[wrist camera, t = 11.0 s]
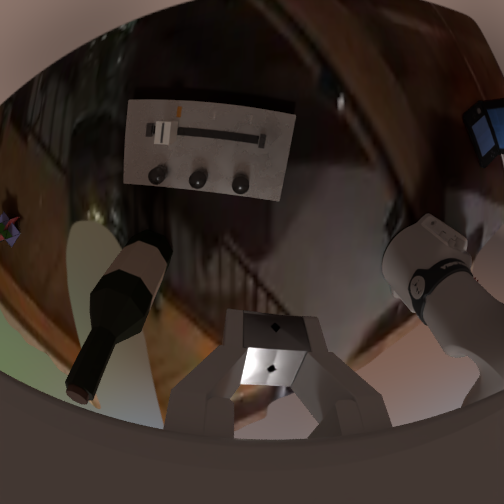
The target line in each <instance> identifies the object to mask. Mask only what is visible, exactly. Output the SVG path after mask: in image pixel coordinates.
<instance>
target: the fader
mask: <svg viewBox="0 0 504 504" xmlns="http://www.w3.org/2000/svg"><path fill="white" fill-rule="evenodd" d="M178 122H179V121H172V120H162V121H156V128H155V139H154V144H165V145H169V144H172V143H174V142H176V140H177V130H178Z"/></svg>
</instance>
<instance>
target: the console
mask: <svg viewBox="0 0 504 504" xmlns="http://www.w3.org/2000/svg"><path fill="white" fill-rule="evenodd" d="M295 119H296V115H292V114H287V113H282V112H277V111H271V110H265V109H259V108H253V107H246V106H238V105H230V104H221V103H211V102H199V101H183V100H129V101H128V111H127V121H126V134H125V150H124V184H138V185H150V186H161V187H171V188H181V189H190V190H199V191H208V192H216V193H224V194H231V195H239V196H246V197H253V198H260V199H267V200H273V201H279V200H280V195H281V190H282V185H283V180H284V175H285V170H286V165H287V160H288V155H289V150H290V145H291V140H292V134H293V129H294V124H295ZM162 120H172V121H179V122H178V130H177V140H176V142H174V143H172V144H169V145H165V144H154V139H155V128H156V121H162Z"/></svg>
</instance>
